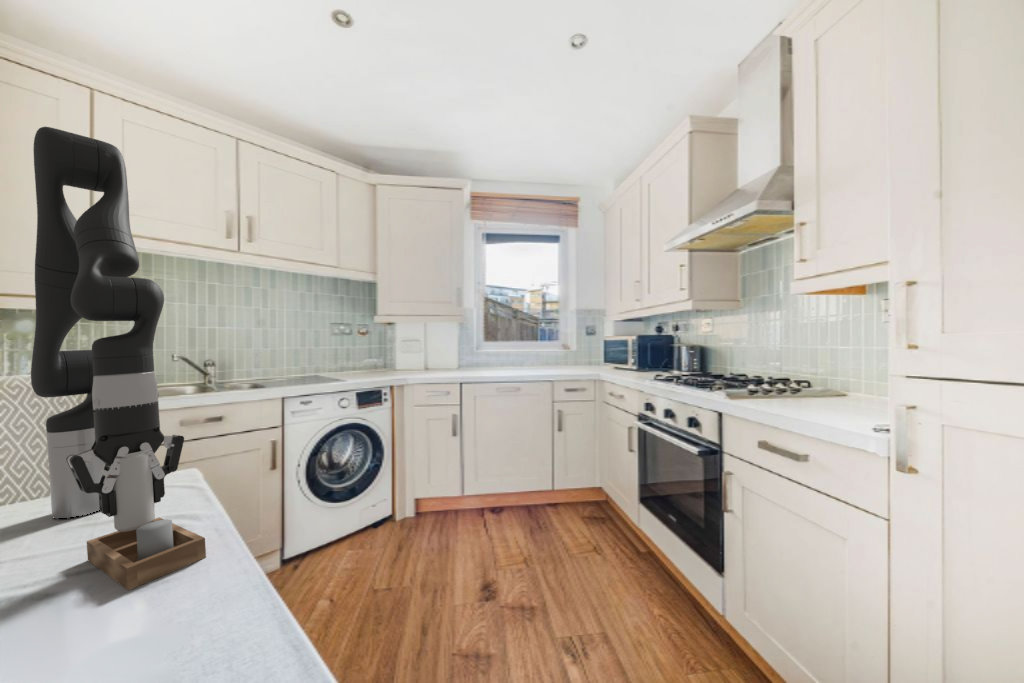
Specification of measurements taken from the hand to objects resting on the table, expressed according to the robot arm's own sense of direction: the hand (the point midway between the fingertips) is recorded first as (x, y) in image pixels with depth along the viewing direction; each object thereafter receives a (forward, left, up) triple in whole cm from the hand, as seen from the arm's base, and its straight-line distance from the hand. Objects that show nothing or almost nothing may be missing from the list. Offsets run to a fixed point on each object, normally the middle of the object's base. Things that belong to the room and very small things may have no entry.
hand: (133, 507), depth 64 cm
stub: (+8, 0, -7) cm, 11 cm away
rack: (+4, 0, -7) cm, 8 cm away
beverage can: (0, 0, -3) cm, 3 cm away
